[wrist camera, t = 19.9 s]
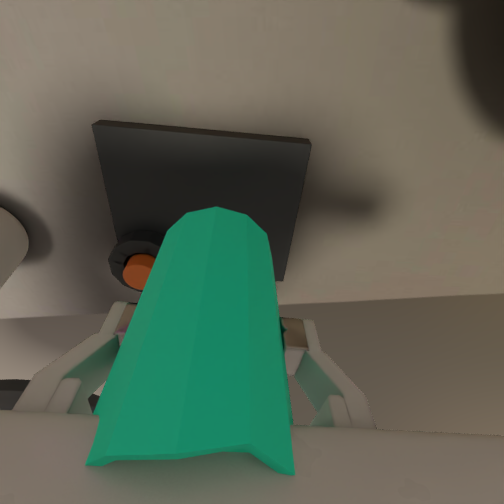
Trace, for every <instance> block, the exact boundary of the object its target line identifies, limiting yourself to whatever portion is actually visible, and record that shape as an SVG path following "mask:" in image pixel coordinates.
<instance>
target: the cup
mask: <svg viewBox="0 0 504 504" xmlns="http://www.w3.org/2000/svg"><path fill="white" fill-rule="evenodd" d="M28 246H29V240H28V236H27V233H26V231H25V229H24V227H23V226H22V225H21V223H20V222H19V221H18V220H17V219H16V218H15V217H14V216H13V215H12V214H10V213H9V212H8V211H6V210H5V209H3V208H1V207H0V289H1V287H2V286H3V285H4V283H5V282H6V281H7V280H8V278H9V277H10V276H11V274H12V273H13V272H14V271H15V269H16V268H17V267H18V266H19V264H20V263H21V262H22V260H23V259H24V257H25V255H26V253H27V250H28Z"/></svg>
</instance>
